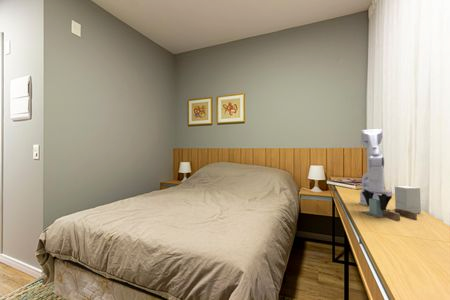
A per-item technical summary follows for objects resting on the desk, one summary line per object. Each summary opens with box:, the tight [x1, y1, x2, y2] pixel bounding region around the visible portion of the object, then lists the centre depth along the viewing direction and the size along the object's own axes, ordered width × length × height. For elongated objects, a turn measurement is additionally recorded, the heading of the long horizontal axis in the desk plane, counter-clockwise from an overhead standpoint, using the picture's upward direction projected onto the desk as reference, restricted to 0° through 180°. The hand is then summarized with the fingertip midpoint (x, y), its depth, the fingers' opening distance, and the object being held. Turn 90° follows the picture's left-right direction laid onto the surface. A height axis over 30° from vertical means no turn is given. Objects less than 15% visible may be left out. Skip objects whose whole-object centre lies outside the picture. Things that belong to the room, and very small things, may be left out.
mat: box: [360, 210, 388, 219], centre depth 101 cm, size 9×9×1 cm
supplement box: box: [394, 185, 422, 214], centre depth 107 cm, size 7×7×13 cm
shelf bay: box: [383, 208, 418, 222], centre depth 96 cm, size 8×10×3 cm
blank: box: [368, 198, 383, 215], centre depth 101 cm, size 4×4×7 cm
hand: (376, 207), depth 101 cm, fingers open, 7 cm apart
